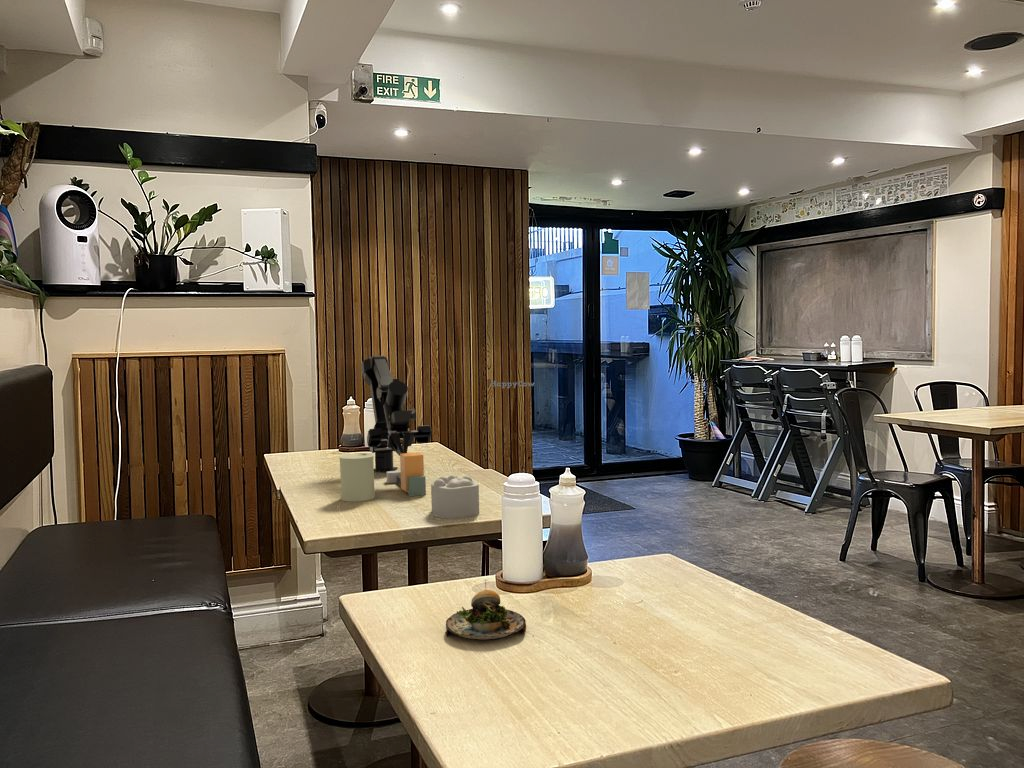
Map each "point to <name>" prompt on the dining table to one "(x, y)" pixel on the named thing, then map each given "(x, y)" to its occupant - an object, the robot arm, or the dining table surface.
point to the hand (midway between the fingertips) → (404, 459)
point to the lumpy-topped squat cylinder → (455, 497)
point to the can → (357, 477)
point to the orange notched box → (410, 467)
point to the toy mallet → (409, 482)
